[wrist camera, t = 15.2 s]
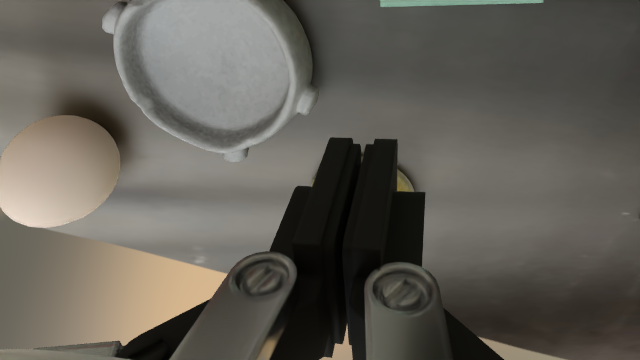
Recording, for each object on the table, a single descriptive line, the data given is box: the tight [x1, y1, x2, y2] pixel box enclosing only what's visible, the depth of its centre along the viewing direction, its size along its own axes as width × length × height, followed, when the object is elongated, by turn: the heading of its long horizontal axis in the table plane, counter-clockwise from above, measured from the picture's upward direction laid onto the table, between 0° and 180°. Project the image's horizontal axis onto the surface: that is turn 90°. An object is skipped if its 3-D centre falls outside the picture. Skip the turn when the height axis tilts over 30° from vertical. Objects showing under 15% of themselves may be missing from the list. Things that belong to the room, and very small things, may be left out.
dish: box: [102, 0, 319, 162], centre depth 37 cm, size 14×14×5 cm
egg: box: [0, 115, 121, 228], centre depth 42 cm, size 9×9×12 cm
